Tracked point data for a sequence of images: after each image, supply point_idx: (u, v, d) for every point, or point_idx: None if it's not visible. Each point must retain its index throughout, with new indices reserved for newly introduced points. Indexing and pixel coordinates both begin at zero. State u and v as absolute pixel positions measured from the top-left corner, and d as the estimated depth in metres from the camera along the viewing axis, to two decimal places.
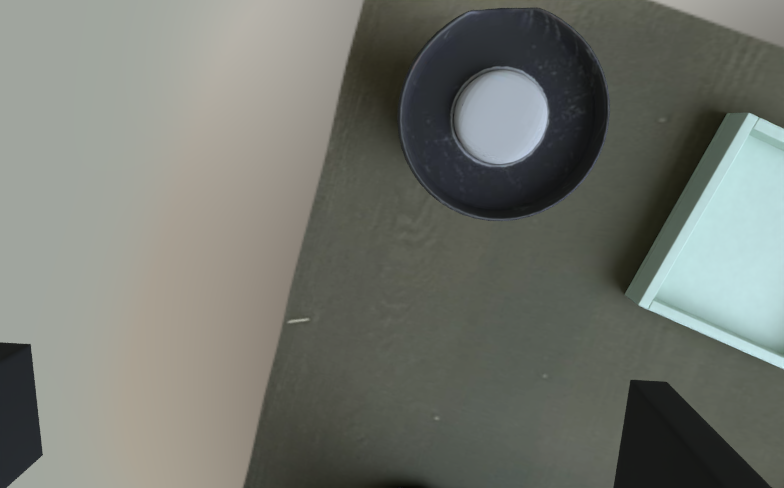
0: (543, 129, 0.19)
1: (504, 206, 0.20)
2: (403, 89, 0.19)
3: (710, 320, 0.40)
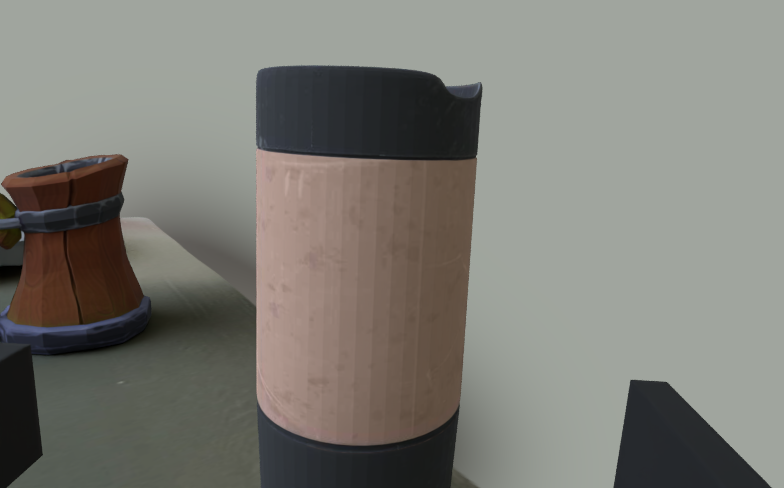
0: None
1: None
2: (451, 86, 0.20)
3: None
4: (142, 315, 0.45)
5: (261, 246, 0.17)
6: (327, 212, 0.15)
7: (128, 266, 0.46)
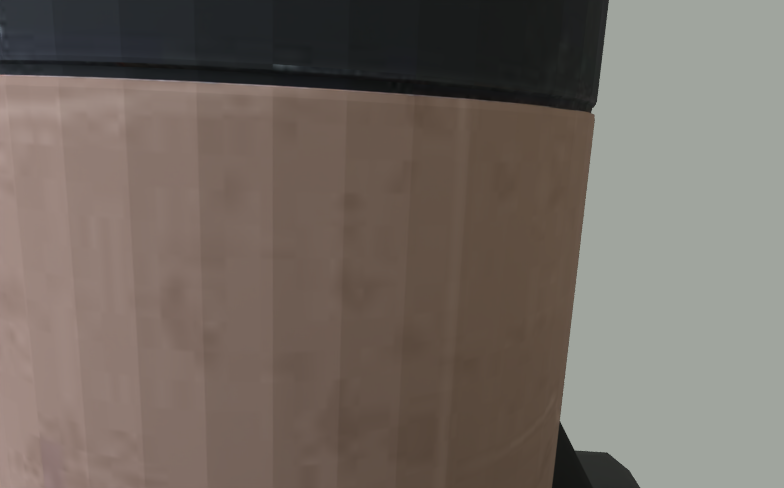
0: None
1: None
2: None
3: None
4: None
5: None
6: (78, 301, 0.04)
7: None
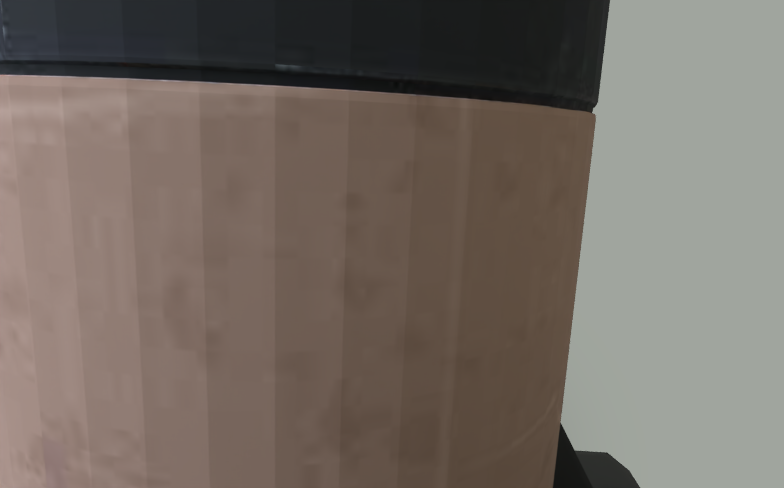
0: None
1: None
2: None
3: None
4: None
5: None
6: (83, 301, 0.04)
7: None
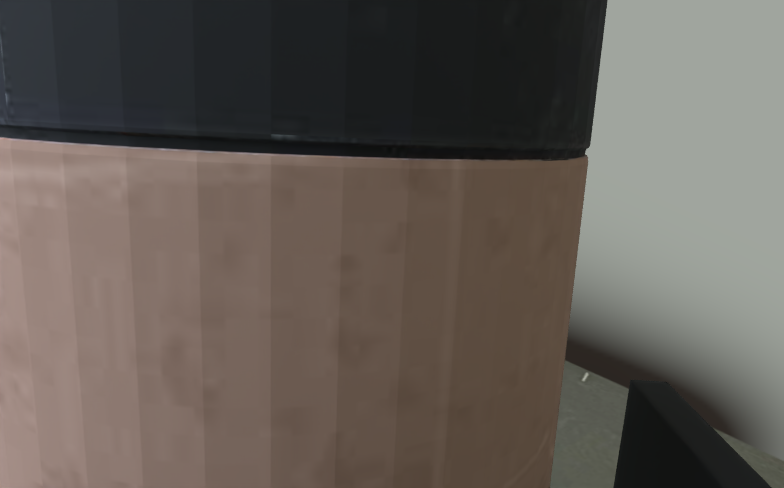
0: None
1: None
2: None
3: None
4: None
5: None
6: (83, 357, 0.04)
7: None
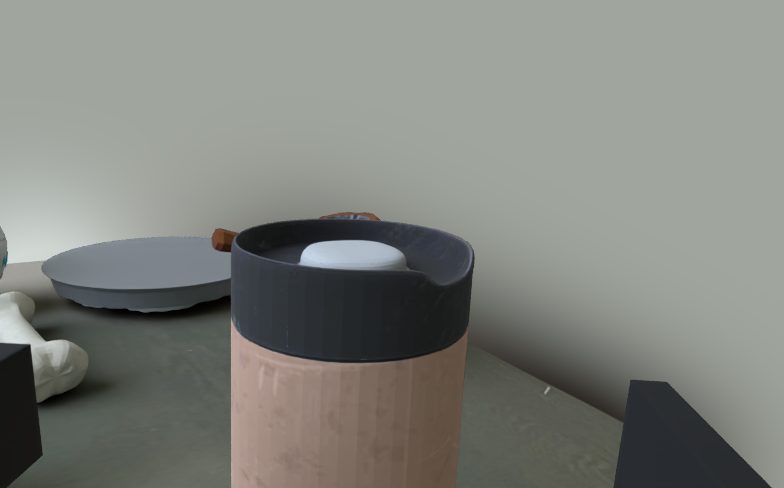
0: (309, 258, 0.16)
1: (278, 248, 0.19)
2: (442, 231, 0.19)
3: None
4: None
5: (235, 426, 0.16)
6: (304, 415, 0.14)
7: None
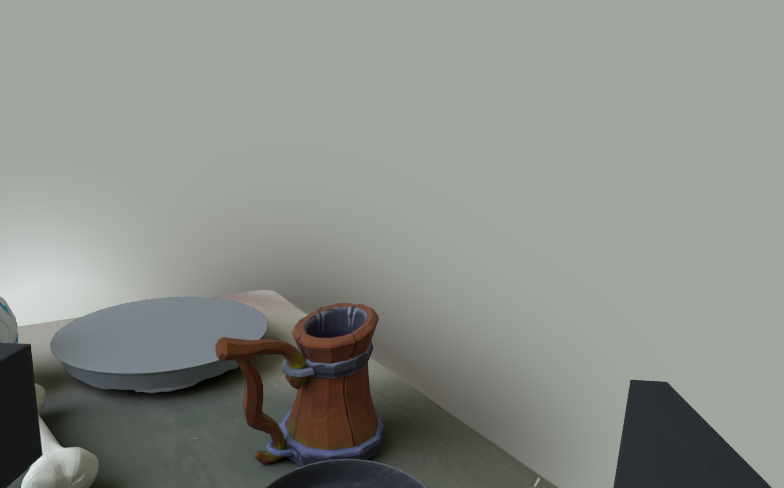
0: None
1: None
2: (425, 486, 0.21)
3: None
4: (382, 430, 0.58)
5: None
6: None
7: None
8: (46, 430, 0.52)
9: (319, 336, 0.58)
